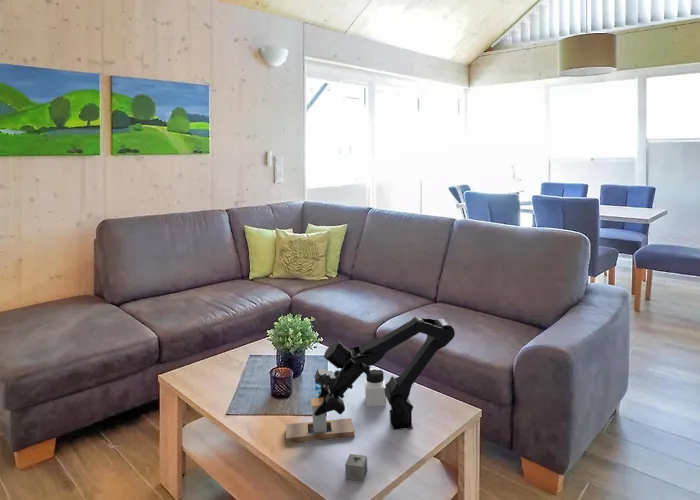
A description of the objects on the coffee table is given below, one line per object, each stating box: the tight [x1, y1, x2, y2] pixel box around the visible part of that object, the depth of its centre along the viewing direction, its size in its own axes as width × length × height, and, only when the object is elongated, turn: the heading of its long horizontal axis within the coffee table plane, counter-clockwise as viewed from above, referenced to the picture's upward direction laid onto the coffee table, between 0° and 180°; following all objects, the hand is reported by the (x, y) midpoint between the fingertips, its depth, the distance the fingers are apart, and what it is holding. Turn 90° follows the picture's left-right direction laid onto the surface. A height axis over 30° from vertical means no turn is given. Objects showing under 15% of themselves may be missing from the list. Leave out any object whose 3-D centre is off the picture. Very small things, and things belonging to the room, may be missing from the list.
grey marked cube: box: [344, 453, 368, 483], centre depth 148 cm, size 5×5×5 cm
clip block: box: [310, 397, 328, 434], centre depth 168 cm, size 4×4×10 cm
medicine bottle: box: [364, 368, 387, 408], centre depth 187 cm, size 7×7×12 cm
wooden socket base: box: [285, 417, 355, 444], centre depth 169 cm, size 22×8×2 cm, turn 96°
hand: (314, 411), depth 168 cm, fingers closed on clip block, 4 cm apart
